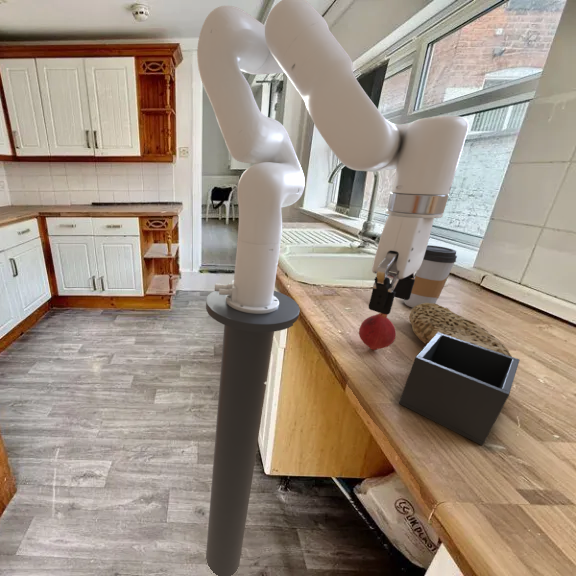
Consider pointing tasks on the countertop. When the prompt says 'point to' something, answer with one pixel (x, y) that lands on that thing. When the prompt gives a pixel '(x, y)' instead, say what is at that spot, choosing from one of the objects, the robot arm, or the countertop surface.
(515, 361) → the waste bin
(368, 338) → the onion
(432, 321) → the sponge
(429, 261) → the coffee cup
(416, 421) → the countertop surface
